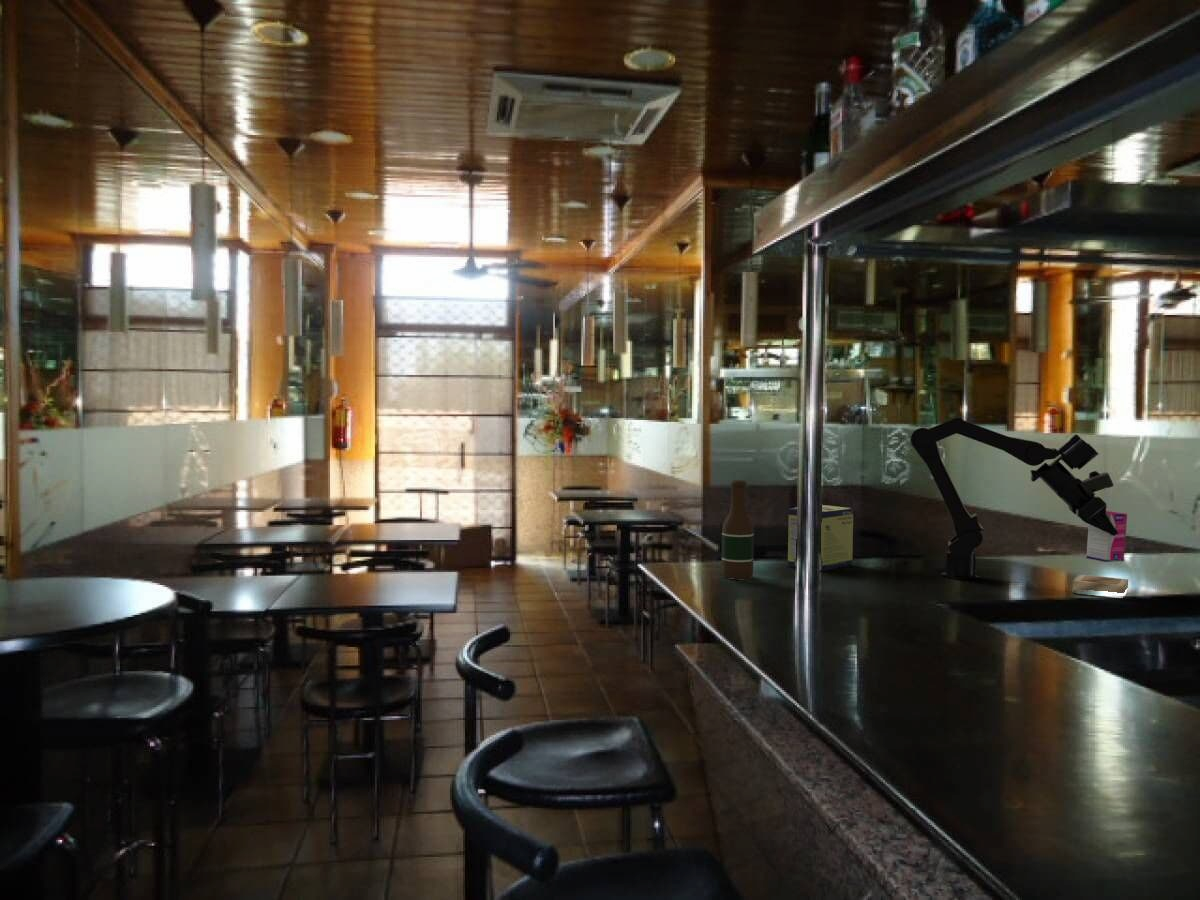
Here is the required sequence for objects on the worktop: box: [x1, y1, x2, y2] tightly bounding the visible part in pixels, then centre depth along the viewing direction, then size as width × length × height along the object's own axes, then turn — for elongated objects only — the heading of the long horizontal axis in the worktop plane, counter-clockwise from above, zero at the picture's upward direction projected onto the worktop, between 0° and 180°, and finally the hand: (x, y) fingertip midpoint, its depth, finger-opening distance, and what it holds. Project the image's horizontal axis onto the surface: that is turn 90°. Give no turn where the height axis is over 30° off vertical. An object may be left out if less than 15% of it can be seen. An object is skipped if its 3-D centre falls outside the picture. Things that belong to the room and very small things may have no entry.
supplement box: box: [1085, 510, 1128, 563], centre depth 212 cm, size 6×6×12 cm
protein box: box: [787, 504, 854, 572], centre depth 239 cm, size 10×16×16 cm
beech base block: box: [1072, 574, 1129, 593], centre depth 206 cm, size 10×10×3 cm
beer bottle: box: [721, 479, 755, 580], centre depth 221 cm, size 8×8×24 cm
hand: (1113, 532), depth 212 cm, fingers closed on supplement box, 8 cm apart
